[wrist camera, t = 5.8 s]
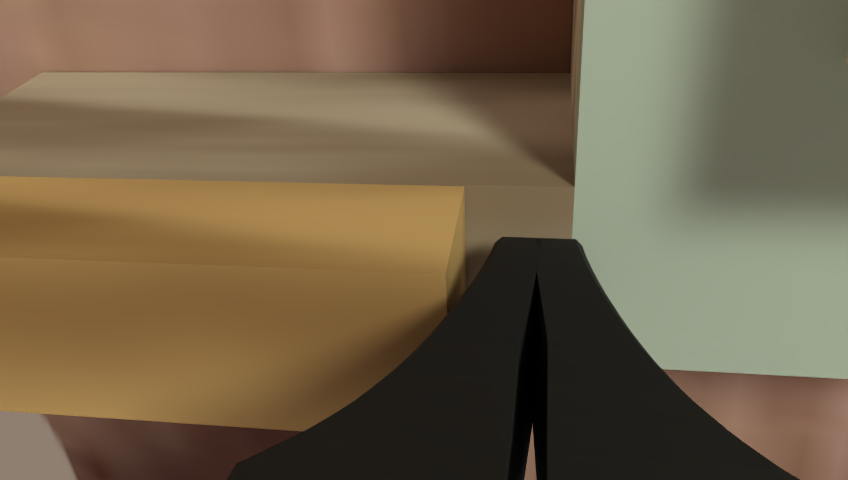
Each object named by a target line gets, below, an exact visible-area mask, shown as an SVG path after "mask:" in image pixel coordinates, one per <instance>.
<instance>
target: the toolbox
mask: <svg viewBox="0 0 848 480" xmlns="http://www.w3.org/2000/svg"><path fill="white" fill-rule="evenodd" d="M580 19H581V0H574V9H573V31H572V52H571V73H140V72H42V73H40V74H39V75H37V76H35V77H34V78H32V79H31V80H29V81H27V82H26V83H24V84H23V85H21V86H19V87H18V88H16V89H15V90H13V91H11V92H10V93H8V94H7V95H5V96H3V97H2V98H0V176H13V177H58V178H104V179H150V180H195V181H241V182H287V183H333V184H378V185H424V186H464V189H465V229H466V268H467V288H468V287H469V285H470V284H471V283H472V281H473V280H474V278H475V277H476V275H477V274H478V272H479V271H480V269H481V268H482V266H483V264H484V263H485V261H486V259H487V258H488V256H489V254H490V252H491V250H492V248H493V246H494V243H495V242H496V241H498V240H499V239H500V238H501V237H526V238H559V239H572V230H573V212H574V193H575V179H574V136H575V117H576V97H577V78H578V58H579V39H580Z"/></svg>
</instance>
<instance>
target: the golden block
mask: <svg viewBox="0 0 848 480" xmlns="http://www.w3.org/2000/svg"><path fill="white" fill-rule="evenodd" d="M466 290H467V268H466V229H465V189H464V186H424V185H378V184H333V183H287V182H241V181H195V180H150V179H104V178H58V177H13V176H0V411H12V412H26V413H41V414H55V415H70V416H85V417H99V418H114V419H128V420H143V421H158V422H172V423H187V424H201V425H216V426H231V427H245V428H260V429H274V430H289V431H305V430H307V429H309V428H311V427H312V426H314V425H316V424H317V423H319V422H321V421H323V420H324V419H326V418H328V417H329V416H331V415H333V414H334V413H336V412H337V411H339V410H341V409H342V408H344V407H345V406H347V405H348V404H350V403H351V402H353V401H354V400H356V399H357V398H359V397H360V396H361V395H363V394H364V393H365V392H367V391H368V390H369V389H370V388H372V387H373V386H374V385H375V384H377V383H378V382H379V381H380V380H382V379H383V378H384V377H385V376H387V375H388V374H389V373H390V372H392V371H393V370H394V369H395V368H396V367H397V366H398V365H399V364H401V363H402V362H403V361H404V360H405V359H406V358H407V357H408V356H409V355H410V354H411V353H412V352H413V351H414V350H415V349H416V348H417V347H418V346H419V345H420V344H421V343H422V342H423V341H424V340H425V339H426V338H427V337H428V336H429V335H430V334H431V333H432V332H433V330H434V329H435V328H436V327H437V326H438V325H439V323H440V322H441V321H442V320H443V319H444V318H445V317H446V315H447V314H448V313H449V312H450V311H451V310H452V308H453V307H454V306H455V304H456V303H457V302H458V300H459V299H460V298H461V296H462V295H463V294H464V292H465V291H466Z"/></svg>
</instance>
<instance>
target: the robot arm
mask: <svg viewBox="0 0 848 480" xmlns="http://www.w3.org/2000/svg"><path fill="white" fill-rule="evenodd" d="M532 423H533V435H534V449H535V463H536V476H537V480H800V479H798V478H796V477H794V476H793V475H791V474H789V473H788V472H786V471H784V470H783V469H781V468H780V467H778V466H777V465H775V464H774V463H772V462H771V461H769V460H768V459H767V458H765V457H764V456H762V455H761V454H760V453H758V452H757V451H755V450H754V449H752V448H751V447H750V446H748V445H747V444H745V443H744V442H742V441H741V440H740V439H739V438H737V437H736V436H735V435H733V434H732V433H731V432H729V431H728V430H727V429H726V428H724V427H723V426H722V425H721V424H720V423H718V422H717V421H716V420H715V419H714V418H713V417H711V416H710V415H709V414H708V413H707V412H705V411H704V410H703V409H702V408H701V407H699V406H698V405H697V404H696V403H695V402H694V401H693V400H692V399H691V398H689V397H688V396H687V395H686V394H685V393H684V392H683V391H682V390H681V389H680V388H679V387H678V386H677V385H676V384H675V383H674V382H673V380H672V379H671V378H670V377H669V376H668V375H667V374H666V373H665V372H664V371H663V370H662V369H661V368H660V366H659V365H658V364H657V363H656V362H655V361H654V360H653V358H652V357H651V356H650V355H649V354H648V352H647V351H646V350H645V349H644V347H643V346H642V345H641V344H640V342H639V341H638V340H637V338H636V337H635V336H634V335H633V333H632V332H631V331H630V329H629V328H628V326H627V325H626V324H625V322H624V321H623V319H622V318H621V316H620V315H619V313H618V312H617V310H616V309H615V307H614V306H613V304H612V303H611V301H610V300H609V298H608V296H607V295H606V293H605V291H604V290H603V288H602V286H601V285H600V283H599V281H598V279H597V277H596V276H595V274H594V272H593V270H592V268H591V266H590V264H589V262H588V259H587V257H586V255H585V252H584V249H583V246H582V245H581V244H580V243H579V242H578V241H577V240H576V239H559V238H526V237H501V238H500V239H499V240H498V241H496V242H495V243H494V246H493V248H492V250H491V252H490V254H489V256H488V258H487V259H486V261H485V263H484V264H483V266H482V268H481V269H480V271H479V272H478V274H477V275H476V277H475V278H474V280H473V281H472V283H471V284H470V285H469V287H468V288H467V290H466V291H465V292H464V294H463V295H462V296H461V298H460V299H459V300H458V302H457V303H456V304H455V306H454V307H453V308H452V310H451V311H450V312H449V313H448V314H447V315H446V317H445V318H444V319H443V320H442V321H441V322H440V323H439V325H438V326H437V327H436V328H435V329H434V330H433V332H432V333H431V334H430V335H429V336H428V337H427V338H426V339H425V340H424V341H423V342H422V343H421V344H420V345H419V346H418V347H417V348H416V349H415V350H414V351H413V352H412V353H411V354H410V355H409V356H408V357H407V358H406V359H405V360H404V361H403V362H402V363H401V364H399V365H398V366H397V367H396V368H395V369H394V370H393V371H392V372H390V373H389V374H388V375H387V376H385V377H384V378H383V379H382V380H380V381H379V382H378V383H377V384H375V385H374V386H373V387H372V388H370V389H369V390H368V391H367V392H365V393H364V394H363V395H361V396H360V397H359V398H357V399H356V400H354V401H353V402H351V403H350V404H348V405H347V406H345V407H344V408H342V409H341V410H339V411H337V412H336V413H334V414H333V415H331V416H329V417H328V418H326V419H324V420H323V421H321V422H319V423H317V424H316V425H314V426H312V427H311V428H309V429H307V430H305V431H303V432H301V433H299V434H298V435H296V436H294V437H292V438H290V439H288V440H286V441H283V442H281V443H279V444H277V445H275V446H273V447H271V448H269V449H267V450H265V451H263V452H260V453H258V454H256V455H254V456H252V457H250V458H248V459H245V460H243V461H240V462H238V463H237V464H236V465H235V467H234V468H233V470H232V472H231V473H230V475H229V477H228V478H227V480H524V477H525V470H526V463H527V456H528V450H529V443H530V436H531V429H532Z"/></svg>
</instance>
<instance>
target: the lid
mask: <svg viewBox="0 0 848 480" xmlns="http://www.w3.org/2000/svg"><path fill="white" fill-rule="evenodd" d="M574 179H575V193H574V212H573V230H572V239H576V240H577V241H578V242H579V243H580V244H581V245H582V246H583V249H584V252H585V255H586V257H587V259H588V262H589V264H590V266H591V268H592V270H593V272H594V274H595V276H596V277H597V279H598V281H599V283H600V285H601V286H602V288H603V290H604V291H605V293H606V295H607V296H608V298H609V300H610V301H611V303H612V304H613V306H614V307H615V309H616V310H617V312H618V313H619V315H620V316H621V318H622V319H623V321H624V322H625V324H626V325H627V326H628V328H629V329H630V331H631V332H632V333H633V335H634V336H635V337H636V338H637V340H638V341H639V342H640V344H641V345H642V346H643V347H644V349H645V350H646V351H647V352H648V354H649V355H650V356H651V357H652V358H653V360H654V361H655V362H656V363H657V364H658V365H659V366H660V368H661V369H669V370H688V371H707V372H726V373H745V374H763V375H782V376H801V377H820V378H838V379H848V0H581V19H580V39H579V58H578V78H577V97H576V117H575V136H574Z"/></svg>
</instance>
